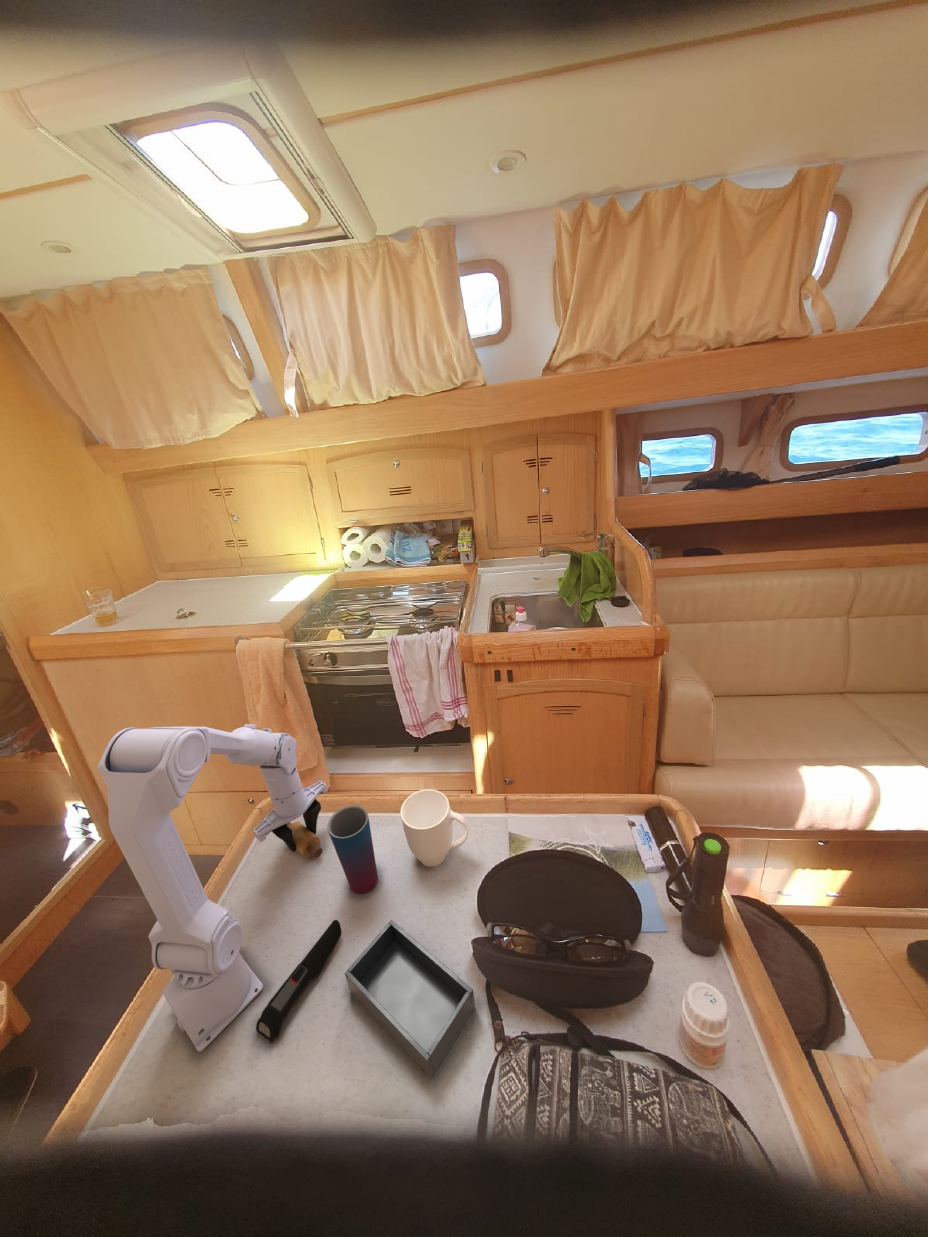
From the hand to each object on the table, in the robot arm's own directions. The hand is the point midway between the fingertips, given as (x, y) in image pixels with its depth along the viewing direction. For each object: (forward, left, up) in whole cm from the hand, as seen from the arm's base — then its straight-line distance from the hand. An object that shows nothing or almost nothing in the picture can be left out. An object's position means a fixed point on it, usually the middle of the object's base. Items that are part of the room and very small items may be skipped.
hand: (302, 840), depth 89 cm
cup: (+2, -16, -2) cm, 16 cm away
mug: (+14, -24, -2) cm, 28 cm away
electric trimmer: (-14, -21, -2) cm, 25 cm away
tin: (-6, -36, -2) cm, 37 cm away
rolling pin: (0, 0, -2) cm, 2 cm away
